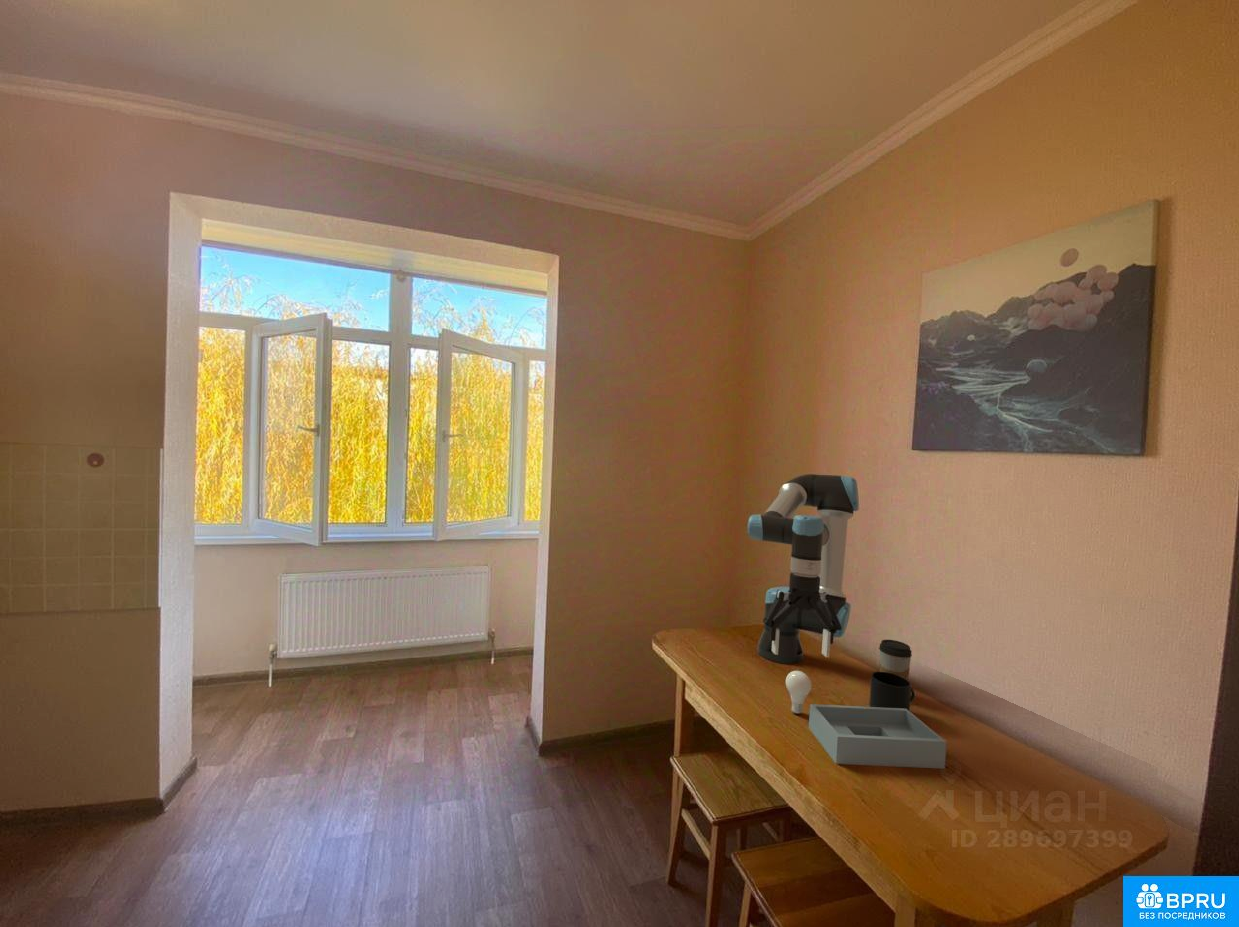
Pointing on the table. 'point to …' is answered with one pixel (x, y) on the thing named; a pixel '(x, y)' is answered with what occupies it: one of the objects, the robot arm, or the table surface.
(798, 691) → the lightbulb
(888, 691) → the mug
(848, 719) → the socket box
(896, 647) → the coffee cup
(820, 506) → the robot arm
